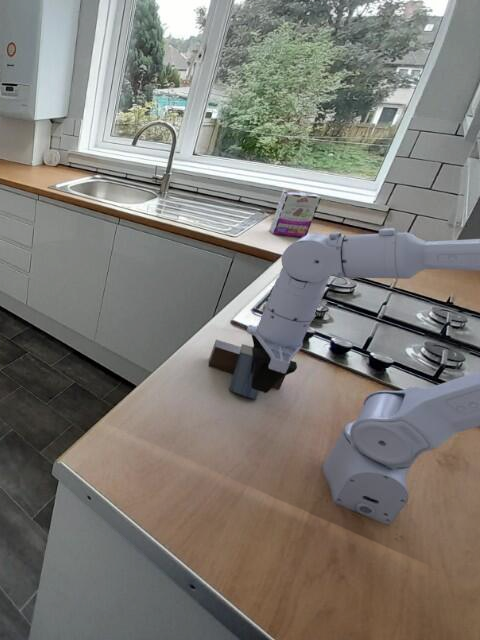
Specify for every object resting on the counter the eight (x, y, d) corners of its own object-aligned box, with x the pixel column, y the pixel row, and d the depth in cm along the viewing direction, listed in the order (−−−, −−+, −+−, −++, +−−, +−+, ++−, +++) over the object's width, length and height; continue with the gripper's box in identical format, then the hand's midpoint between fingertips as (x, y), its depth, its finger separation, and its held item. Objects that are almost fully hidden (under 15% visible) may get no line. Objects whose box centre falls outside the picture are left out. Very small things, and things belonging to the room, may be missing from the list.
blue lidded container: (254, 410, 74) (274, 365, 70) (227, 400, 76) (244, 356, 72) (253, 384, 80) (271, 342, 76) (227, 375, 82) (243, 334, 78)
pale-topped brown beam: (277, 394, 78) (288, 369, 75) (206, 370, 83) (215, 346, 81) (276, 385, 80) (287, 361, 78) (207, 362, 86) (216, 339, 83)
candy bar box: (300, 234, 161) (316, 193, 154) (305, 238, 157) (322, 197, 150) (268, 230, 164) (282, 190, 157) (272, 234, 160) (287, 193, 153)
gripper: (256, 285, 69) (231, 350, 74) (258, 325, 57) (229, 398, 63) (308, 297, 65) (277, 364, 71) (321, 342, 54) (284, 418, 60)
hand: (258, 381), depth 67 cm, fingers open, 4 cm apart
